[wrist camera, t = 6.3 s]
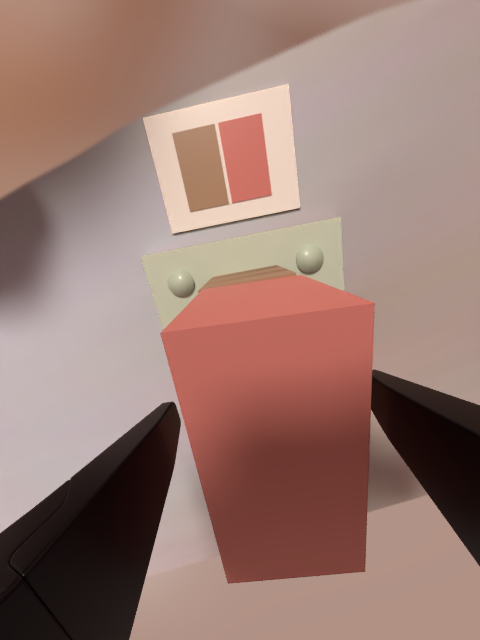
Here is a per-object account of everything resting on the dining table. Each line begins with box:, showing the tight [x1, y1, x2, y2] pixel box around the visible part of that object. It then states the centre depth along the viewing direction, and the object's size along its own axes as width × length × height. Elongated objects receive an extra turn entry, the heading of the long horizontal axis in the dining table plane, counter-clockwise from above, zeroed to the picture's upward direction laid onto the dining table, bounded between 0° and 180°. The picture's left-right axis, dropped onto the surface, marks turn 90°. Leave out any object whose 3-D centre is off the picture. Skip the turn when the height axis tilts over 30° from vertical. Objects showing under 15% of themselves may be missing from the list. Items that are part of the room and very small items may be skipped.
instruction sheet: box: [143, 84, 300, 234], centre depth 13 cm, size 8×6×1 cm
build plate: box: [141, 217, 344, 330], centre depth 15 cm, size 12×12×1 cm
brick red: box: [161, 275, 374, 583], centre depth 8 cm, size 8×4×5 cm, turn 8°
